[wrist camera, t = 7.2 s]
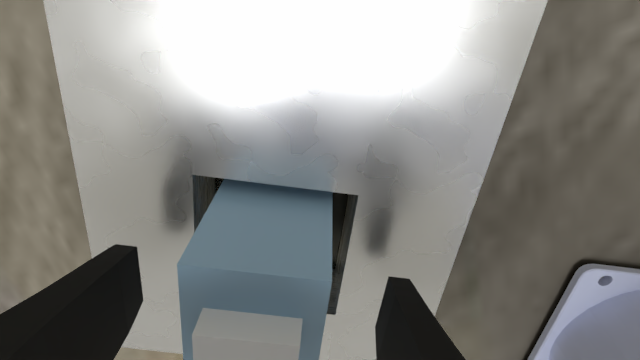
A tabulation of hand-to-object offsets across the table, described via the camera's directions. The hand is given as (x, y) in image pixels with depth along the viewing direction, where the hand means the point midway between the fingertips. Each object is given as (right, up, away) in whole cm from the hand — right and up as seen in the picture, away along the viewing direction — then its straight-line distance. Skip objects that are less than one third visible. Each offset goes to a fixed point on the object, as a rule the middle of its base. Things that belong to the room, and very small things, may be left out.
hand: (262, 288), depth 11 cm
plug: (0, +2, +4) cm, 4 cm away
